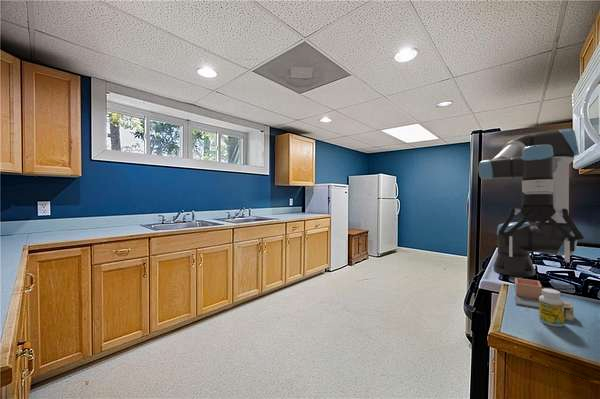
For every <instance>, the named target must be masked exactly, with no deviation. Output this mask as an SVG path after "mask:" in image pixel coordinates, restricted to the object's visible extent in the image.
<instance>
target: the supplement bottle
mask: <svg viewBox="0 0 600 399" xmlns="http://www.w3.org/2000/svg"><path fill="white" fill-rule="evenodd" d="M564 302H565V301H564V300H563V299H562V298H561V291H559V290H557V289H554V288H547V287H546V288H545V287H543V288H542V295H541V296H540V297H539V309H538V310H539V311H538V314H539V317H538V318H539V320H540V321H541V323H543V324H546V325H548V326H551V327H558V328H559V327H563V326H565V319H564Z"/></svg>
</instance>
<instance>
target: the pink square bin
mask: <svg viewBox="0 0 600 399" xmlns="http://www.w3.org/2000/svg"><path fill="white" fill-rule="evenodd" d="M542 289H543V286H542V284H541V282H540V280H535V279H526V278H521V277H514V292H515V296H518V297H525V298H531V299H537V300H539V297H540V296H541V295H543V294H542Z"/></svg>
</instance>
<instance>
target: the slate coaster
mask: <svg viewBox="0 0 600 399" xmlns="http://www.w3.org/2000/svg"><path fill="white" fill-rule="evenodd" d="M514 300H515V304H516V305H515V306H522V307H527V308H532V309H533V308H534V309H538V310H539V300H537V299H531V298H525V297H518V296H516V295H514Z"/></svg>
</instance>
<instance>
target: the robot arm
mask: <svg viewBox="0 0 600 399" xmlns="http://www.w3.org/2000/svg"><path fill="white" fill-rule="evenodd" d="M579 150H580V149H579V146H578V140H577V136H576V132H575V130H574V129H572V128H566V129H557V130H550V131H544V132H537V133H535V132H534V133H529V134H524V135H522V136H518V137H516V138H513V139H511V140H510V141H508V142H507V143H505V144H504V145H503V146H502V148H501V150H500V151H499V152H498V154H497V155H496V156H494V157H493V158H492V159H485V160H484V159H483V160H481V161H480V162H479V163H478V168H477V170H478V175H479V178H480V179H481V180H495V179H496V180H499V179H515V178H521V192H522V193H524V194H521V196H522V197H521V199H522V200H521V208H514V207H511V208H510V209H509V211H510V212H509V215H508V216H507V218H506V219H505V220H504V222H503V223H500V224H498V225H497V232H496V235H497V236H496V237H497V238H496V239H497V254H496V258H495V260H494V262H493V272H496V273H498V274H501V275H506V276H509V277H516V278H529V277H535V276H536V268H535V267H534V264H533V262H532V259H531V257H530V256H531V255H530V254H531V253H537V254H538V253H539V254H545V255H547V254H548V255H556V256H564V261H565V263H570V261H571V258H570V256H572V255H574V254H575V251H576V249H577V244H578V241H579V240H584V236H583V234H582V233H581V231H580V229H579V228H578V227H577V226H576V224H575V222H574V221H573V220H572V219H571V217H570V215H569V212H570V211H569V208H570V207H569V206H570V205H569V204H570V199H569V198H570V195H569V193H570V190H569V189H570V164H571V163H572V162H573V161H574V160H575V157H576V156H579V155H580V151H579ZM519 213H521V214H522V216H523V217H522V218H521V219H519V221H516V222H512V220H513V218H514V216H517V215H518V214H519ZM529 222H530V223H535V225H531V224H530V223H529ZM534 275H535V276H534Z"/></svg>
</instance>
